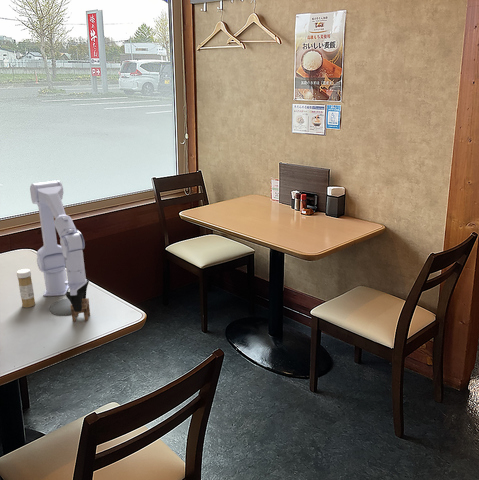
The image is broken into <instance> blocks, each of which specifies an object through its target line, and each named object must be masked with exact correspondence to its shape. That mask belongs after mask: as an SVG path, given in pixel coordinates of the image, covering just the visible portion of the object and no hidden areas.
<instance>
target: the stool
mask: <svg viewBox="0 0 479 480" xmlns="http://www.w3.org/2000/svg"><path fill="white" fill-rule="evenodd" d="M70 307H71V313H72V315H71V320H72V322H76V320H77V318H76V317H78V316H79V314H81V313H83V319H84V322H88V321H89V317H88V316H91V308H90V299H89V297H88V298H87V297H86V298H84V299H82V310H81V312H75V311H74V309H73V306H72V304H71V305H70Z"/></svg>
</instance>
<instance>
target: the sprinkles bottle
mask: <svg viewBox="0 0 479 480" xmlns="http://www.w3.org/2000/svg"><path fill="white" fill-rule="evenodd" d="M16 276H17V281H18V286H19V287H18V288H19V293H20V298H21V306H22V307H23V308H32V307H34V306H35V305H36V300H35V293H34V287H33V286H34V285H33V282H32V271H31V269H29V268H21V269H18V270H17V271H16Z"/></svg>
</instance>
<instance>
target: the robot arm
mask: <svg viewBox="0 0 479 480" xmlns="http://www.w3.org/2000/svg"><path fill="white" fill-rule="evenodd" d="M29 187H30V188H29V191H30V199H31V203H32V204H34V205H37V208H38V213H39V220H40V229H41V235H42V236H41V237H42V242H43V243H42V244H43V245H42V246H41V247H40V248H39V249H37V251H36V263H37V267H38V269H39V271H40V272H41V273H43V277H44V284H45V285H44V286H45V291H44V293H42V294H43V295H42V296H43V297H51V296H52V297H53V296H65V297H66V298H68V299H69V300H70V302H71V304H72V306H73V309H74V311H75V312H81V310H82V299H84V298H87V290H88V285H89V283H90V279H87V277H86V269H85V262H84V261H85V260H84V252H83V250H84V249H85V246H86V244H85V239H84V236H83V234H82V232H81V231H80V230H79V229H77V227H76V225H75V224H74V221H73V218H72V217H71V216H70V215H67V214H66V211H65V208H64V204H63V202H62V200H63V196H64V187H63V183H62V182H61V181H60V180H58V179H56V180H51V181H50V180H49V181H44V182H42V181H41V182H35V183H34V182H33V183H31V184H30V186H29ZM57 233H58V236H59V238H60V239H59V243H60V244H58V239H57ZM68 290H69V291H68Z"/></svg>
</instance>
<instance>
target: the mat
mask: <svg viewBox="0 0 479 480" xmlns="http://www.w3.org/2000/svg"><path fill="white" fill-rule="evenodd" d="M70 305H71V302H70V300H69V299H68V298H67V297H66V298H62V299H60V300H57V301H55V302H53V303H52V304H51V305H50V307H49V310H50V312H51V314H53V315H57V316H70V315H71V316H72V313H71V307H70Z"/></svg>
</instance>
